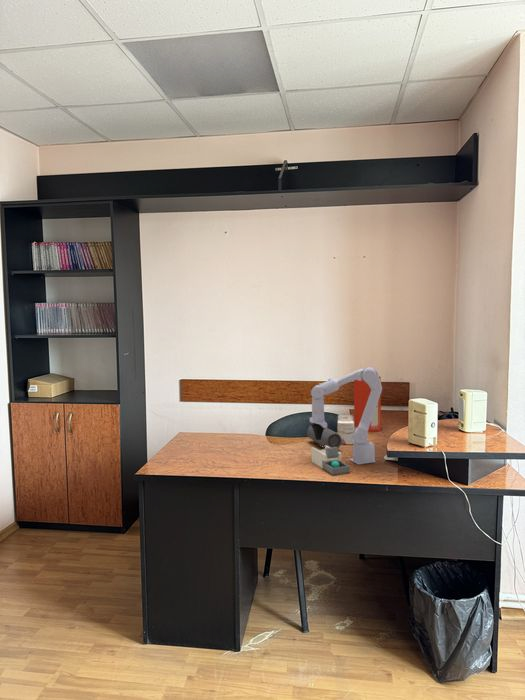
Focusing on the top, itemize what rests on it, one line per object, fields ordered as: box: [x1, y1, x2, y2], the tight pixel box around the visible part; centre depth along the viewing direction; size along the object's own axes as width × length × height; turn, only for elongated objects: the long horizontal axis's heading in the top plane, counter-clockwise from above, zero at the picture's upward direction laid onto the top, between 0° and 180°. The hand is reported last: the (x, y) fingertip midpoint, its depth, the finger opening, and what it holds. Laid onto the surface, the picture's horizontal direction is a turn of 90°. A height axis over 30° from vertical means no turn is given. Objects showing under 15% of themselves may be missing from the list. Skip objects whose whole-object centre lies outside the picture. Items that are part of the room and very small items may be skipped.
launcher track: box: [310, 445, 342, 469], centre depth 219 cm, size 8×14×7 cm, turn 20°
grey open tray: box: [323, 460, 351, 476], centre depth 210 cm, size 8×8×3 cm
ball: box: [331, 461, 339, 468], centre depth 211 cm, size 4×4×4 cm
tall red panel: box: [353, 376, 382, 433], centre depth 285 cm, size 8×17×32 cm, turn 19°
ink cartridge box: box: [336, 414, 355, 445], centre depth 254 cm, size 9×5×15 cm, turn 84°
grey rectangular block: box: [324, 447, 339, 458], centre depth 214 cm, size 5×2×4 cm, turn 110°
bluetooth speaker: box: [306, 424, 342, 449], centre depth 250 cm, size 23×9×10 cm, turn 21°
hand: (318, 439), depth 227 cm, fingers closed
